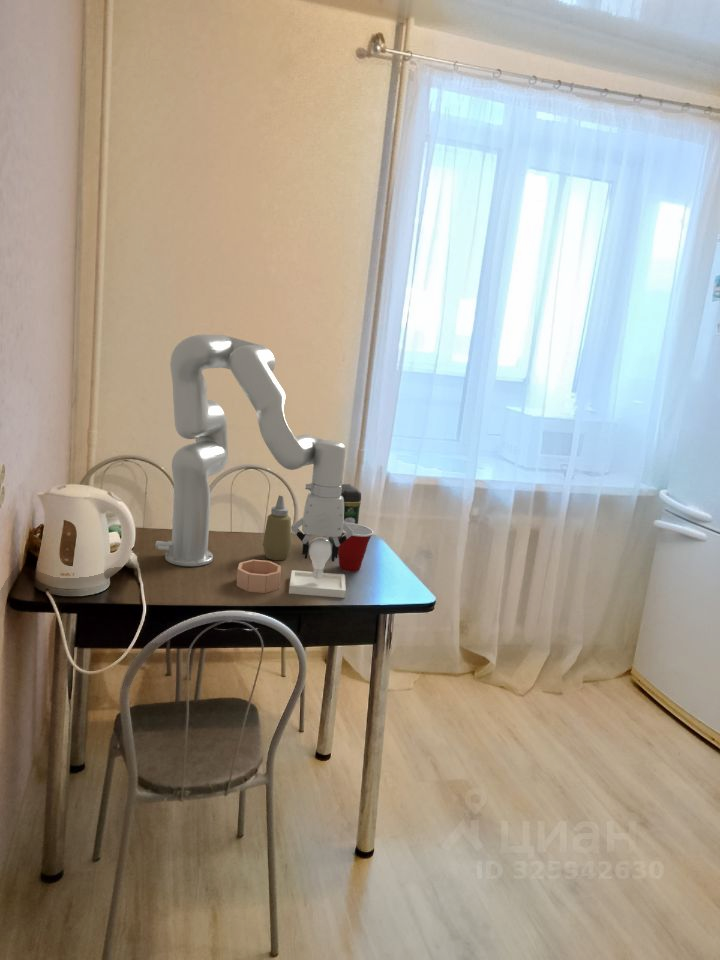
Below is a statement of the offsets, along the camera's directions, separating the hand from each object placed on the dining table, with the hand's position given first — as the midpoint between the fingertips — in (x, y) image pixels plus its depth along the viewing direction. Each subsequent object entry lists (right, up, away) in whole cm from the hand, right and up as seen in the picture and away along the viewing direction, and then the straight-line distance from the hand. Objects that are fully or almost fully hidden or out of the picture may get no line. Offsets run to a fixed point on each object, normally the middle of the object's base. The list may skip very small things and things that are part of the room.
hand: (319, 557), depth 184 cm
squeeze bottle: (-13, -2, +20) cm, 25 cm away
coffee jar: (+5, 0, +37) cm, 38 cm away
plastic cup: (+8, -5, +18) cm, 20 cm away
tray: (-1, -8, +2) cm, 8 cm away
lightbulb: (-1, -6, +1) cm, 6 cm away
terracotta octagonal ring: (-16, -7, 0) cm, 17 cm away
